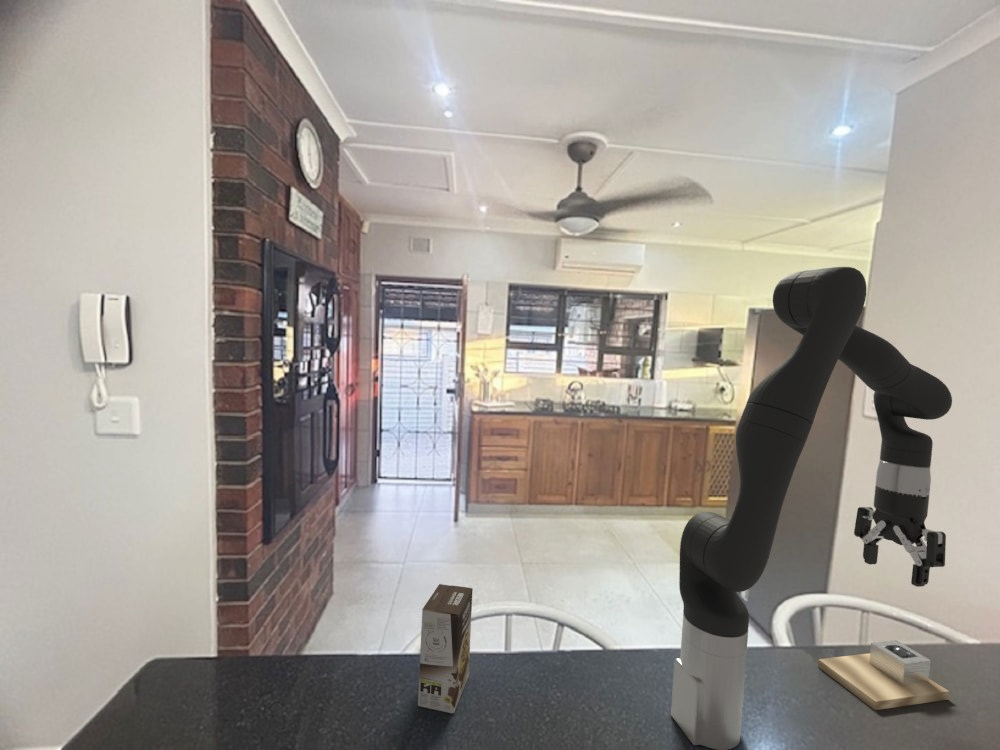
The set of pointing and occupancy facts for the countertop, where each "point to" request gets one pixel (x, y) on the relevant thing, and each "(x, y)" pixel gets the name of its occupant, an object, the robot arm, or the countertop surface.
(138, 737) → the countertop surface
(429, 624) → the coffee box
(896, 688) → the plate
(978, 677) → the countertop surface
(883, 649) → the steel link
